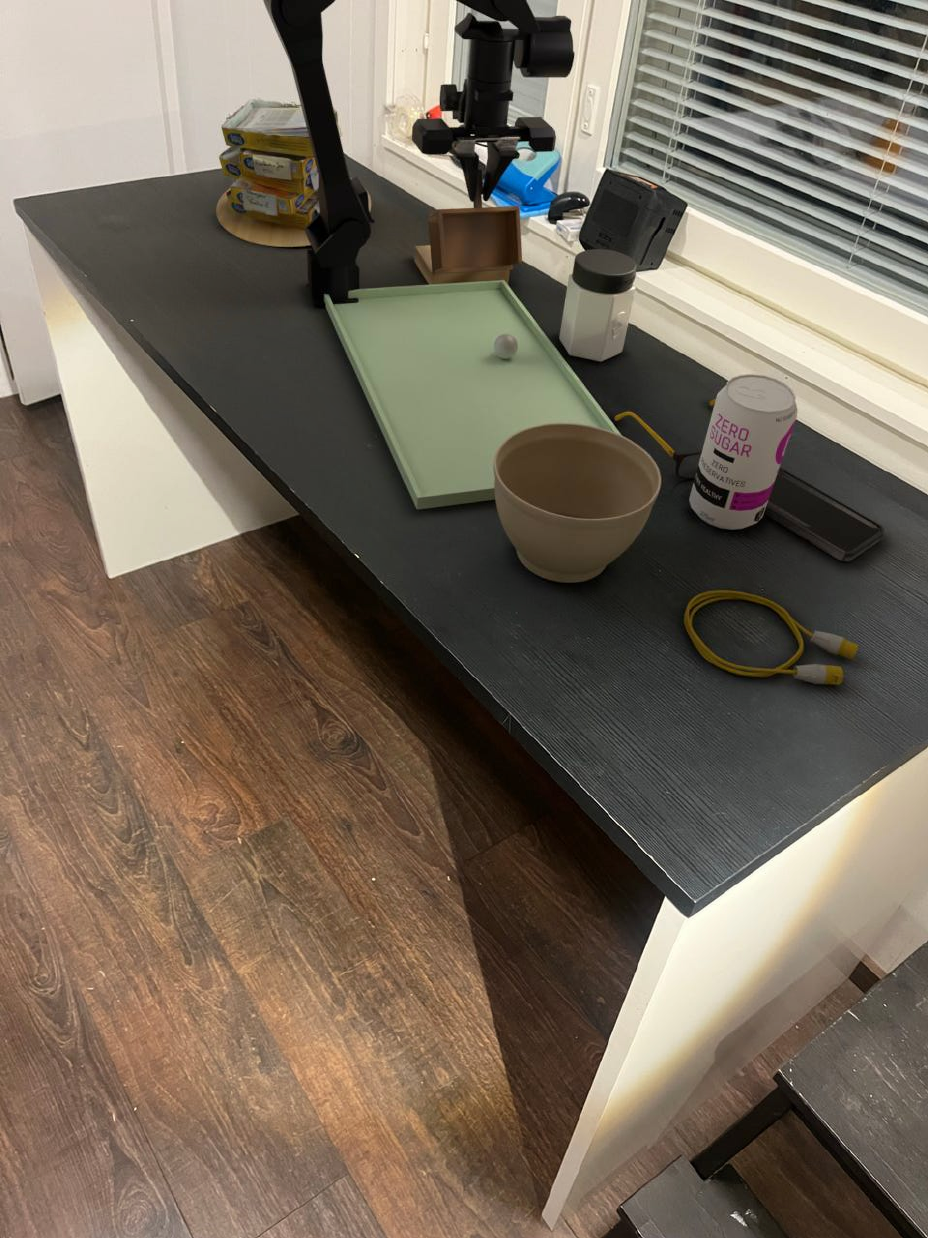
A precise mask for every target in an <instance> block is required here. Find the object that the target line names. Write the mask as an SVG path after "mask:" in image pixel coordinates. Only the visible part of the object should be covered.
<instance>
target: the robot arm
mask: <svg viewBox="0 0 928 1238" xmlns="http://www.w3.org/2000/svg"><path fill="white" fill-rule="evenodd" d="M455 1H456V2H457V3H459V4H462V5H464V6H465V7H467V8H470V9H471V10H473V11H474V12H477V13H478V14H481V15H483V16H486V17H488V18H490V19H492V20H478V19H477V18H476V16H475V15H474V14H473V13H471V12H467V14H466V15H465V17H464V18H463V19H462V20H460V21H459V23H457V24H456V25H455V26H454V28H453V29H454V32H455V33H456V34H457V35H458V36H459V37H460V38H461V39H462V40H469V52H468V65H467V75H466V77H467V78H464V79H463V85H462V87H463V88H462V91H459V90H458V87H457V86H458V85H457V84H454V83H451V84H450V83H446V84H445V83H443V84H440V88H439V98H438V99H439V110H440V111H441V112H452V120H457V122H458V123H459V124H463V126H449V125H448V124H447V122H446V121H444V119H443V118H441V117H440V118H439V117H438V118H435V117H434V118H417V119H416V120H415V121H414V123H413V125H412V128H411V142H412V143H413V144H414V145H415V146H416V147H417V149H418V150H419V151H420V153H421V154H423V155H426V156H433V155H436V156H437V155H447V154H448V153H449V152H450V153H451V154H452V155H453V156H454V157H455V159H456V160H458V162H459V164H460V167H461V169H462V173H463V177H464V182H465V186H466V190H467V191H466V192H467V195H468V199H469V201H470V202H471V203H473V202H474V201H475V196H476V190H477V178H478V169H479V165H480V155H479V154H478V153H477V152H476V151H475V150H476V144H484V143H486V151H487V158H486V160H487V161H486V166H485V172H484V177H483V194H482V201H484V202H488V201H489V200H490V198H491V196H492V194H493V192H494V191H495V189H496V187H497V185H498V183H499V182H500V181H501V178H502V176H503V175H504V174H505V172H506V170H507V169H508V168H509V167H510V165H511V163H513V161H514V160H518V159H520V157H521V153H520V152H519V151H518V150H517V146H518V143H520V142H521V143H527V144H528V146H529V147H530V149H531V150H532V151H533V152H534V153H543V152H544V153H546V152H547V153H549V152H550V153H551V152H554V151H555V148H556V141H557V136H556V130H555V129H554V128H553V127H552V125H550V123H549V122H547V121H546V119H544V118H543V117H542V116H521V117H520V116H518V117H517V119H516V120H515V122H514V125H509V124H508V117H509V108H510V107H509V106H510V102H513V101H514V94H515V93H514V91H513V90H512V79H513V78H512V77H513V70H514V67H515V68H516V69H517V70H518V69H519V71H520V74H521V76H522V77H523V78H528V79H529V78H534V79H535V78H536V79H537V78H540V79H541V78H546V79H547V78H548V79H549V78H551V79H553V78H554V79H555V78H556V79H557V78H560V79H561V78H567V77H569V75H570V74H571V71H572V69H573V65H574V62H575V55H576V54H575V51H574V38H573V34H572V31H571V28H572V27H571V26H572V20H571V18H569V17H568V16H566V15H554V16H535V15H534V13H533V11H532V9H531V6H530V4H529V3H528V0H455ZM335 2H336V0H263V4H264V6H265V9H266V11H267V14H268V17H269V19H270V21H271V23H272V25H273V28H274V31H275V32H276V34H277V37H278V39H279V41H280V44H281V46H282V48H283V50H284V52H285V54H286V57H287V59H288V61H289V64H290V68H291V69H290V70H291V72H292V76H293V80H294V84H295V88H296V92H297V95H298V99H299V103H300V104H299V105H301V107H300V108H302V112H303V115H304V119H305V123H306V127H307V131H308V135H309V139H310V143H311V147H312V151H313V154H314V158H315V162H316V166H317V170H318V176H319V183H318V197H319V208H320V213H319V214H318V215H317V216H316V217H315V218H314V219H313V220H312V221H311V222H310V223H309V224H308V225H307V226H306V228H305V232H306V235H307V237H308V240H309V242H310V243H311V245H310V246H311V248H312V249H307V250H306V262H307V265H306V266H307V283H306V284H305V290H306V292H307V294H308V297H309V299H310V301H311V304H312V306H313V307H315V308H320V307H325V306H326V303H325V301H324V294H327V295H329V297H330V299H331V301H332V303H333V304H347V303H358V302H359V299H358V298H348V292H349V291H350V290H355V289H360V265H359V264H358V262H357V258H358V255H359V252H360V249H361V248H362V247H364V246H365V245H366V244H367V242H368V240H369V239H371V234H372V228H371V224H374V223H375V219H374V217H373V216H372V214H371V210H370V211H369V200H368V193H369V192H368V190H367V189H366V188H365V186H364V184H363V182H362V181H361V179H360V177H359V176H358V175H357V176H354V177H353V178H352V177H350V174H349V169H348V166H347V161H346V157H345V151H344V148H343V143H342V139H341V137H340V135H339V130H338V126H337V122H336V117H335V113H334V109H335V108H334V109H333V107H334V105H333V100H332V97H331V92H330V88H329V87H330V86H329V83H328V79H327V75H326V71H325V66H324V62H323V48H324V47H323V46H324V44H323V43H324V31H323V19H322V13H323V12H324V11H325V10H327V9H328V8H329V7H331V6H332V4H334V3H335ZM500 22H504V23H505V22H508V23H510V24H511V25H513V26H514V27H515V28H505V27H504V28H503V26H502V24H501V23H500ZM350 178H352V179H350ZM366 190H367V191H366ZM367 192H368V193H367Z"/></svg>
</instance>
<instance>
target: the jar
mask: <svg viewBox="0 0 928 1238" xmlns="http://www.w3.org/2000/svg"><path fill="white" fill-rule="evenodd" d="M637 267H638V266H637V264H636V261H635V260H634V259H633V258H631V257H630V256H628V255H626V254H624V253H621V252H618V251H616V250H611V249H603V248H592V249H585V250H583V251H580V252H578V253H577V254H576V256H575V257H574V262H573V268H572V273H570V274H569V275H568V278H567V279H568V280H567V285H566V292H565V299H564V303H563V304H564V305H563V311H562V318H561V325H560V331H559V336H558V339H559V341H560V343H561V344H562V346H563V347H564V349H565V350H566V352H567V354H568V355H569V356H572V357H577V358H581V359H585V360H586V359H587V360H590V361H595V362H599V363H601V362H603V361H606V360H608V359H611V358H613V357H615V356H617V355H619V354H621V353H622V352H623V350H624V346H625V341H626V336H627V331H628V326H629V322H630V317H631V312H632V308H633V304H634V303H633V302H634V299H635V298H634V297H635V294H636V286H635V285H634V282H635V279H636V276H637V275H636V274H637Z"/></svg>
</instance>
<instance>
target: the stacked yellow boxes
mask: <svg viewBox="0 0 928 1238" xmlns="http://www.w3.org/2000/svg"><path fill="white" fill-rule="evenodd" d="M333 109H334V113H335V117H336V122H337V126H338V130H339V135H340V138H341V137H342V136H343V131H342V129H341V127H340V125H339V116H338V115H339V114H338V111H337V110H336V109H335V107H334V106H333ZM225 119H226V120H225V121H224V123H223V124H221V132H222V135H223V139H224V143H225V145H226V147H227V146H228V147H227V149H225V150H224V151H222V152H221V153H220V155H219V156H218V159H219V163H220V166H221V170H222V174H223V175H224V176H227V177H230V178H234V179H235V180H234V181H233V182H232V184H230V187H229V188H228V189H226V191H224V193H223V194H222V195H221V196H220V198H219V200H218V201H217V204H216V209H215V213H216V214H215V215H216V218H217V221H218V222H219V224H220V225H221V226H222V227H223V228H224V229H225V230H226V231H227V232H228V233H229V234H230V235H231V234H232V235H233V236H235V237H236V238H239V239H241V240H244V241H246V242H249V243H254V244H258V245H263V246H269V247H278V248H282V247H283V248H290V247H291V248H293V247H306V246H311V243H310V242H309V240H308V237H307V235H306V232H305V228H306V226H307V225H308V224H309V223H310V222H311V221H312V220H313V219H314V218H315V217H316V216H317V215H318V214H319V213H320V208H319V197H318V183H319V176H318V170H317V166H316V162H315V158H314V154H313V151H312V147H311V143H310V139H309V135H308V131H307V127H306V123H305V119H304V115H303V112H302V108H301V104H296V102H293V101H291V103H287V102H286V103H283V102H281V101H275V100H273V101H271V100H266V101H265V100H263V99H260V97H258V98H254V99H253V98H252V99H248V100H247V102H246V103H244V105H241V106H240V107H239V109H237V110H236V111H235V112H233V113H232V115H228V117H226V118H225ZM350 179H352V177H350ZM366 191H367V193H368V200H369V211H370V212H371V211H372V210H371V209H372V198H371V195H370V193H369V192H368V190H367V189H366Z"/></svg>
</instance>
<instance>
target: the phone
mask: <svg viewBox="0 0 928 1238" xmlns="http://www.w3.org/2000/svg"><path fill="white" fill-rule="evenodd" d="M763 515H765V516H767V517H769V518H770V519H772V520H773V521H775V522H777V523H778V524H780V525H782V527H784V528H786V529H787V530H789V531H791V532H792V533H794V534H796V535H797V536H799V537H800V538H802V539H804V540H805V541H807V542H809V543H810V544H812V545H813V546H816V547H817V548H818V549H820V550H822V552H825V553H827V554H828V555H830V556H831V557H833V558H835V559H836V560H838V561H840V562H851V561H854V560H855V559H857V558H858V557H859V556H861V555H862V554H863V553H865V552H866V551H868V550H870V549H871V548H873V546H875V545H876V544H878V543H880V542H881V540H882V538H883V535H884V534H885V529H884V527H883V526H882V525H880V524H879V523H877V522H876V521H874V520H872V519H870V518H869V517H867V516H865V515H863V514H862V513H860V512H858V511H856V510H855V509H853V508H852V507H849V506H848V505H846V504H844V503H843V502H841V501H840V500H838V499H836V498H834V497H833V496H832V495H829V494H827V493H825V492H824V491H822V490H820V489H819V488H817V487H815V486H814V485H812V484H810V483H808V482H807V481H805V480H803V479H801V478H800V477H798V476H796V475H795V474H793V473H791V472H789V471H788V470H786V469H784V468H782V467H779V470H778V473H777V476H776V479H775V482H774V485H773V488H772V491H771V494H770V497H769V499H768V502H767V505H766V508H765V511H764V514H763Z"/></svg>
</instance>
